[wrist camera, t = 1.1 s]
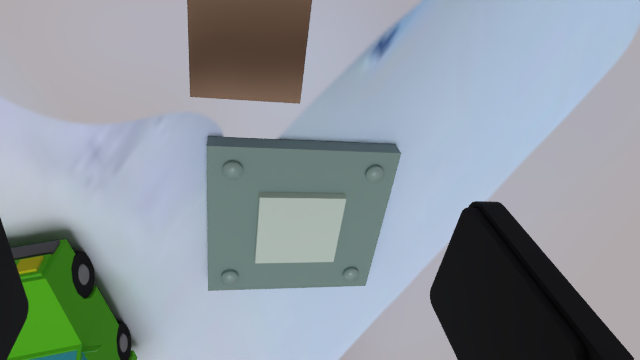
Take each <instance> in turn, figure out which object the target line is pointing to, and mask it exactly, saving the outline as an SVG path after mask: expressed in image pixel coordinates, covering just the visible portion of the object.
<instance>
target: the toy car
mask: <svg viewBox="0 0 640 360" xmlns="http://www.w3.org/2000/svg"><path fill="white" fill-rule="evenodd" d="M11 251H12V254H13V257H14V260H15V263H16V266H17V269H18V272H19V275H20V278H21V281H22V284H23V287H24V290H25V293H26V296H27V299H28V303H29V309H28V315H27V319H26V321H25V323H24V325H23V328H22V330H21V332H20V334H19V336H18V338H17V340H16V342H15V344H14V346H13V348H12V350H11V352H10V354H9V356H8V358H7V360H137V356H136V354H135V353H134V351H131V337H130V332H129V329H128V328H127V326H126V324H125V323H124V322H123V323H117V321H116V319H115V318H114V316H113V314H112V312H111V310H110V309H109V307H108V305H107V303H106V302H105V300H104V298H103V296H102V295H101V293H100V291H99V290H98V288H97V287H96V286H95V287H93V285H94V269H93V266H92V263H91V261H90V259H89V257H88V256H87V255H86V254H85V253H83V252H78V253H75V252H74V251H73V249H72V248H71V246H70V245H69V243H68V242H67V240H66V239H64V240H55V241H49V242H43V243H37V244H31V245H26V246H20V247H14V248H11Z"/></svg>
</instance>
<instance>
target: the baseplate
mask: <svg viewBox="0 0 640 360" xmlns="http://www.w3.org/2000/svg"><path fill="white" fill-rule="evenodd" d="M400 155H401V153H400V151H399V149H398V148H397V146H396V145H395V144H376V143H352V142H329V141H305V140H282V139H258V138H235V137H211V136H208V141H207V209H208V291H211V290H243V289H275V288H307V287H339V286H365V285H366V281H367V278H368V274H369V270H370V267H371V263H372V259H373V255H374V252H375V248H376V244H377V241H378V237H379V233H380V229H381V226H382V222H383V218H384V215H385V211H386V207H387V203H388V200H389V196H390V192H391V189H392V185H393V181H394V177H395V174H396V170H397V166H398V163H399V159H400Z"/></svg>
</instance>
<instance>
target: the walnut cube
mask: <svg viewBox="0 0 640 360" xmlns="http://www.w3.org/2000/svg"><path fill="white" fill-rule="evenodd" d="M187 4H188V37H189V70H190V71H189V72H190V97H203V98H219V99H236V100H251V101H252V100H253V101H268V102H284V103H300V99H301V90H302V82H303V73H304V64H305V55H306V46H307V38H308V30H309V20H310V12H311V4H312V0H187Z"/></svg>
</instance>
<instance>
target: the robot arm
mask: <svg viewBox="0 0 640 360" xmlns="http://www.w3.org/2000/svg"><path fill="white" fill-rule="evenodd" d="M430 300H431V304H432V306H433V308H434V311H435V313H436V315H437V317H438V319H439V321H440V323H441V325H442V327H443V329H444V332H445V333H446V336H447V338H448V340H449V342H450V344H451V346H452V348H453V350H454V352H455V354H456V357H457V359H458V360H634V358H633V357H632V355H631V354H630V353H629V352H628V351H627V349H626V348H625V347H624V346H623V345H622V344H621V342H620V341H619V340H618V339H617V338H616V337H615V335H614V334H613V333H612V332H611V331H610V330H609V328H608V327H607V326H606V325H605V324H604V323H603V322H602V320H601V319H600V318H599V317H598V316H597V315H596V313H595V312H594V311H593V310H592V309H591V308H590V306H589V305H588V304H587V303H586V301H585V300H584V299H583V298H582V297H581V296H580V295H579V293H578V292H577V291H576V290H575V289H574V288H573V286H572V285H571V284H570V283H569V282H568V280H567V279H566V278H565V277H564V276H563V275H562V273H561V272H560V271H559V270H558V269H557V268H556V266H555V265H554V264H553V263H552V262H551V261H550V259H549V258H548V257H547V256H546V255H545V254H544V253H543V251H542V250H541V249H540V248H539V246H538V245H537V244H536V243H535V242H534V241H533V240H532V238H531V237H530V236H529V235H528V234H527V232H526V231H525V230H524V229H523V228H522V227H521V225H520V224H519V223H518V222H517V221H516V220H515V218H514V217H513V216H512V215H511V214H510V213H509V211H508V210H507V209H506V208H505V207H504V206H503V205H502V204H501V203H499V202H477V201H476V202H472V203H471V204H470V205H469V207H468V208H465V209H464V210H463V211H462V213H461V215H460V218H459V220H458V223H457V225H456V228H455V230H454V233H453V235H452V238H451V240H450V243H449V245H448V248H447V250H446V252H445V255H444V258H443V260H442V263H441V265H440V267H439V270H438V272H437V275H436V277H435V280H434V282H433V285H432V287H431V290H430ZM28 309H29V303H28V299H27V296H26V293H25V290H24V287H23V284H22V281H21V278H20V275H19V272H18V269H17V266H16V263H15V260H14V257H13V254H12V251H11V248H10V245H9V242H8V239H7V236H6V234H5V231H4V228H3V225H2V222H1V219H0V360H7V358H8V356H9V354H10V352H11V350H12V348H13V346H14V344H15V342H16V340H17V338H18V336H19V334H20V332H21V330H22V328H23V325H24V323H25V321H26V319H27V315H28Z"/></svg>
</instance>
